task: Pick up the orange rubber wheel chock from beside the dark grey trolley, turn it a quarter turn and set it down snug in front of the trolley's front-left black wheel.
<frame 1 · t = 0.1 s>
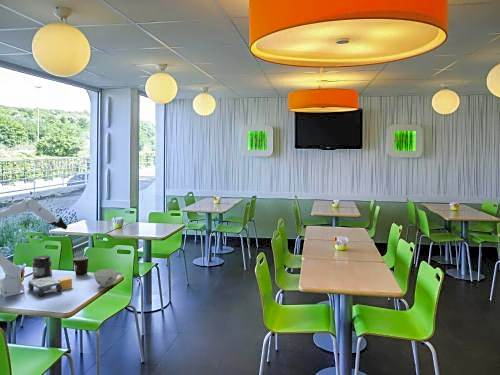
hand: (63, 227, 245), 32 cm above the table, tool tilted 50°, fingers open, 7 cm apart
coffee mug: (81, 275, 262), on the table
teacup: (108, 285, 241), on the table
supplement container: (42, 276, 260), on the table
trolley: (44, 291, 231), on the table
chock: (65, 288, 237), on the table
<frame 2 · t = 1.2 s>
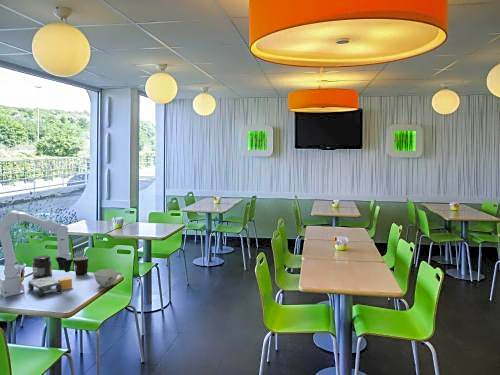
hand: (64, 270, 236), 10 cm above the table, tool pointing down, fingers open, 7 cm apart
nothing on the table moved.
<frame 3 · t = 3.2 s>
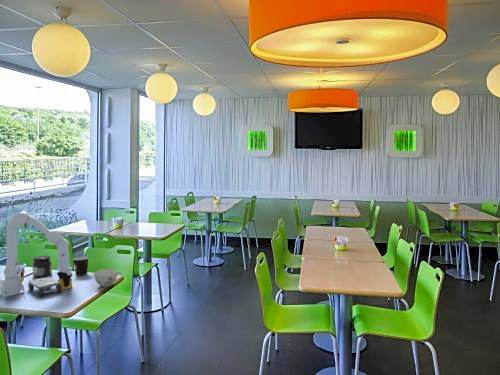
hand: (65, 285, 237), 1 cm above the table, tool pointing down, fingers closed on chock, 4 cm apart
chock: (65, 287, 237), on the table, touching gripper
everything else where it was.
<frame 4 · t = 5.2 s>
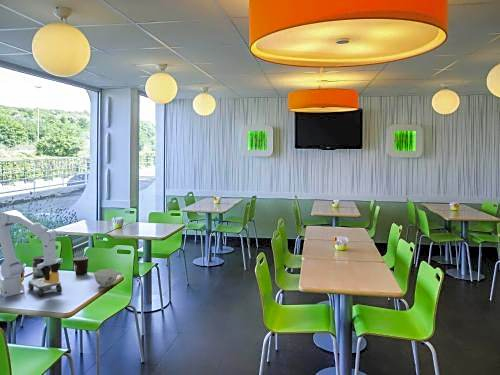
hand: (50, 278, 223), 9 cm above the table, tool pointing down, fingers closed on chock, 4 cm apart
chock: (51, 282, 223), point 7 cm above the table, touching gripper
everything else where it was.
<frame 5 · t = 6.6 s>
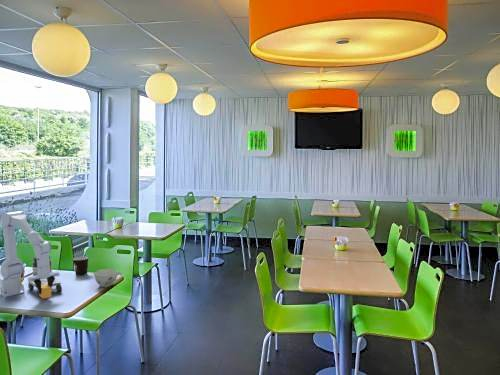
hand: (44, 292, 218), 4 cm above the table, tool pointing down, fingers closed on chock, 4 cm apart
chock: (45, 296, 218), point 2 cm above the table, touching gripper
everything else where it was.
when the fingers open (3 cm above the table, at t = 7.6 s): chock drops 1 cm, on the table.
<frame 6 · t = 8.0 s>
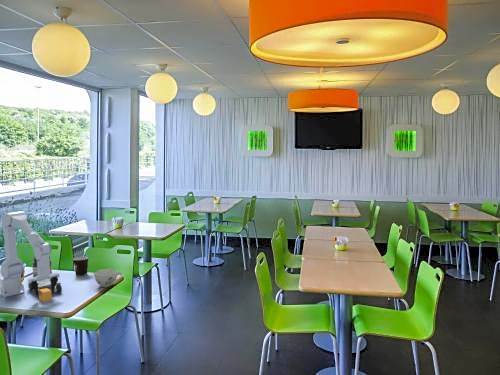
hand: (44, 293, 218), 3 cm above the table, tool pointing down, fingers open, 7 cm apart
chock: (45, 299, 218), on the table
everything else where it was.
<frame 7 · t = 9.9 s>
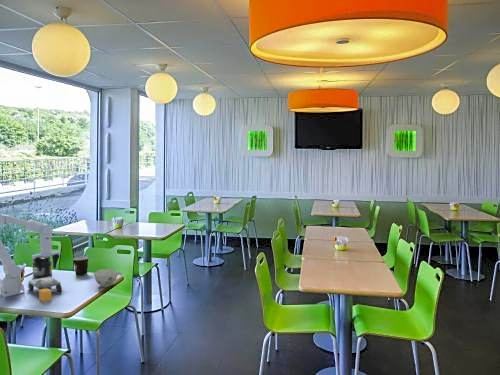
hand: (47, 269, 240), 9 cm above the table, tool pointing down, fingers open, 7 cm apart
nothing on the table moved.
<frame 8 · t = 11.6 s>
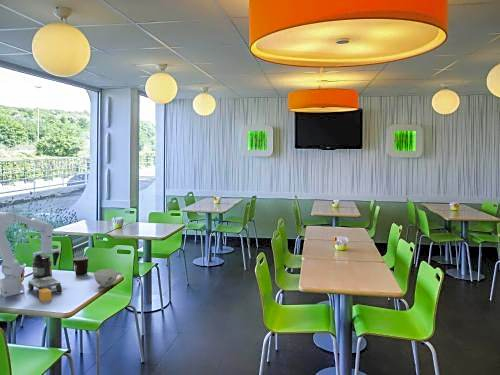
hand: (47, 266, 246), 9 cm above the table, tool pointing down, fingers open, 7 cm apart
nothing on the table moved.
at the end: chock 0.1 cm from the target spot on the table beside the trolley, on the table; chock tilted 0°; the gripper is holding nothing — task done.
